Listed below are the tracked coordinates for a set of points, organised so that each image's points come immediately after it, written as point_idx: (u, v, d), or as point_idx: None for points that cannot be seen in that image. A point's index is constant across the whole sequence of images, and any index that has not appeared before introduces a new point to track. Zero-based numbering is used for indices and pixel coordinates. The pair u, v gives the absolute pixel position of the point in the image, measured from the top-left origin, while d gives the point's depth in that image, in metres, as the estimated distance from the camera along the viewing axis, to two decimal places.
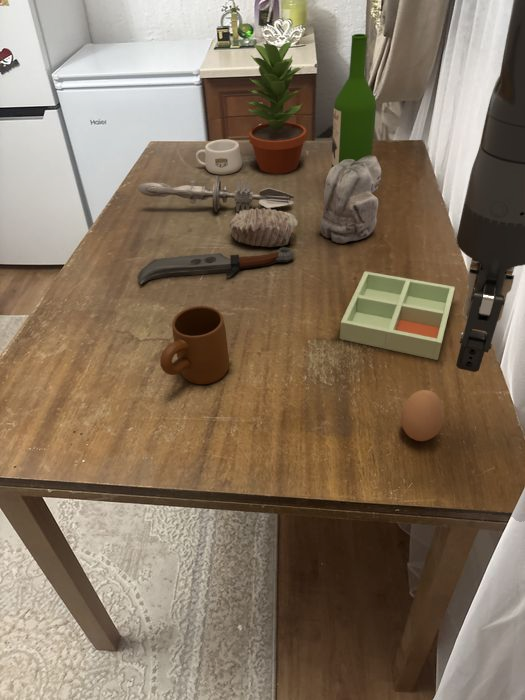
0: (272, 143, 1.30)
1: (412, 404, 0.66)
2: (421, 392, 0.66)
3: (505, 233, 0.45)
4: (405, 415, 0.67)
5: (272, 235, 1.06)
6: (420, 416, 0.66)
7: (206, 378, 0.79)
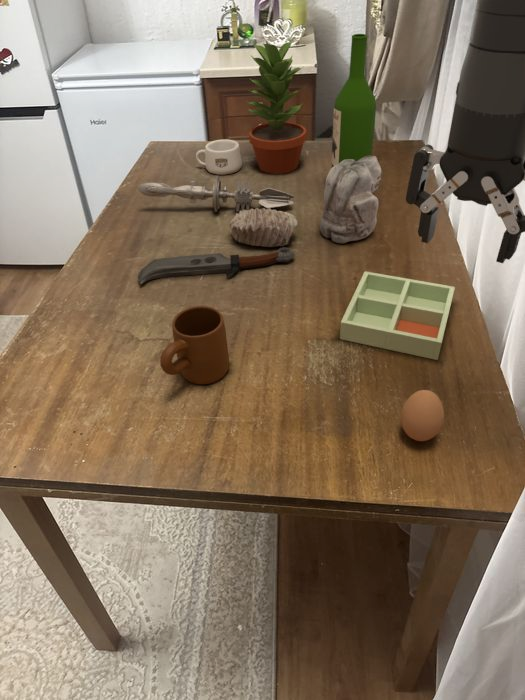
0: (272, 143, 1.30)
1: (412, 404, 0.66)
2: (421, 392, 0.66)
3: None
4: (405, 415, 0.67)
5: (272, 235, 1.06)
6: (420, 416, 0.66)
7: (206, 378, 0.79)
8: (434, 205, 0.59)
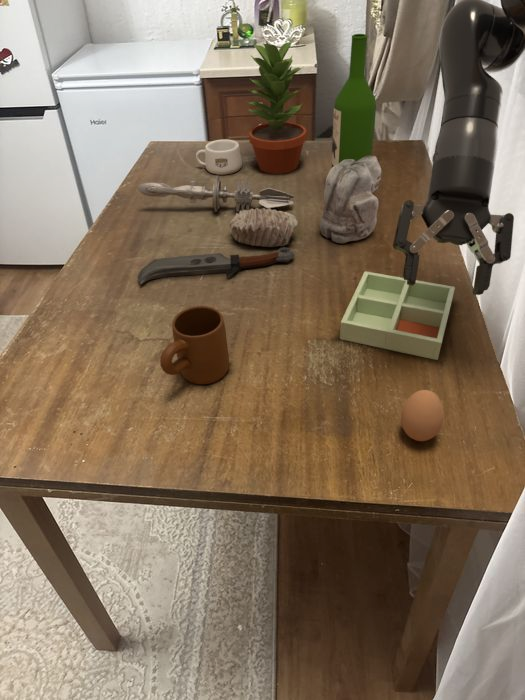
0: (272, 143, 1.30)
1: (412, 404, 0.66)
2: (421, 392, 0.66)
3: (432, 170, 0.69)
4: (405, 415, 0.67)
5: (272, 235, 1.06)
6: (420, 416, 0.66)
7: (206, 378, 0.79)
8: None
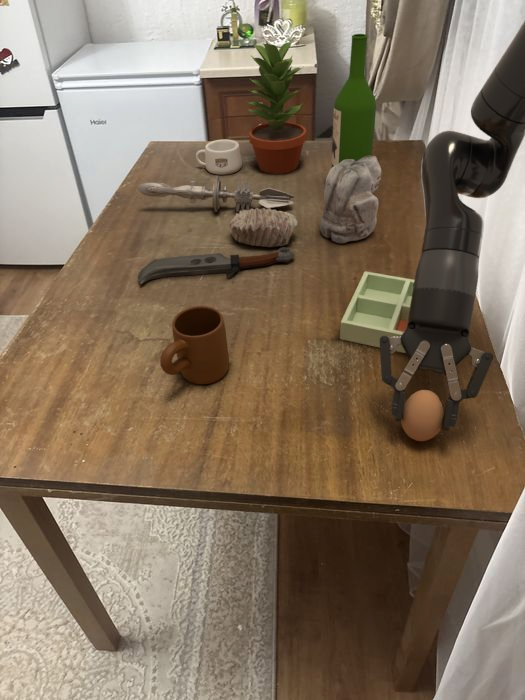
0: (272, 143, 1.30)
1: (412, 404, 0.66)
2: (421, 392, 0.66)
3: None
4: (405, 415, 0.67)
5: (272, 235, 1.06)
6: (420, 416, 0.66)
7: (206, 378, 0.79)
8: None
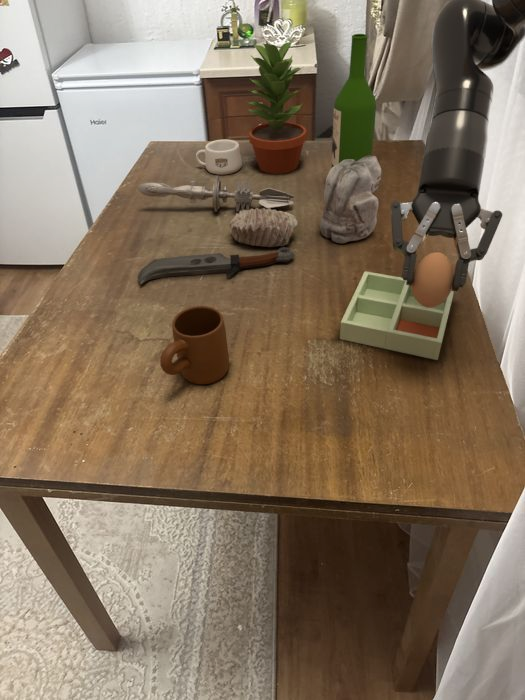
0: (272, 143, 1.30)
1: (423, 265, 0.68)
2: (431, 253, 0.68)
3: (422, 164, 0.70)
4: (415, 278, 0.69)
5: (272, 235, 1.06)
6: (430, 276, 0.67)
7: (206, 378, 0.79)
8: None
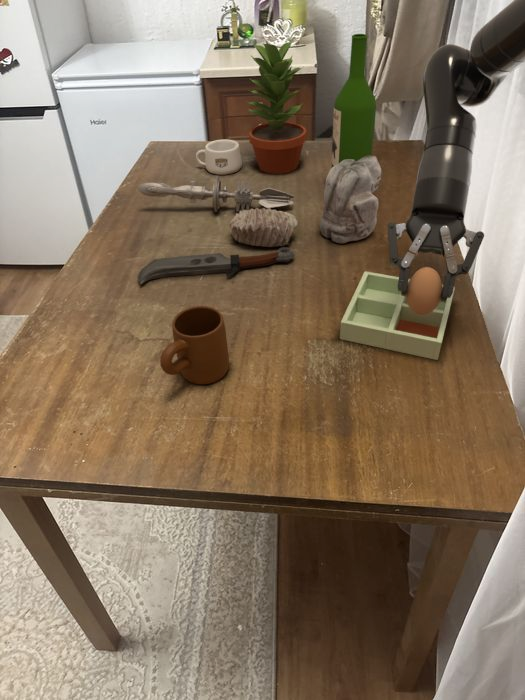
0: (272, 143, 1.30)
1: (415, 278, 0.78)
2: (423, 268, 0.78)
3: (415, 190, 0.80)
4: (409, 290, 0.79)
5: (272, 235, 1.06)
6: (422, 288, 0.77)
7: (206, 378, 0.79)
8: None
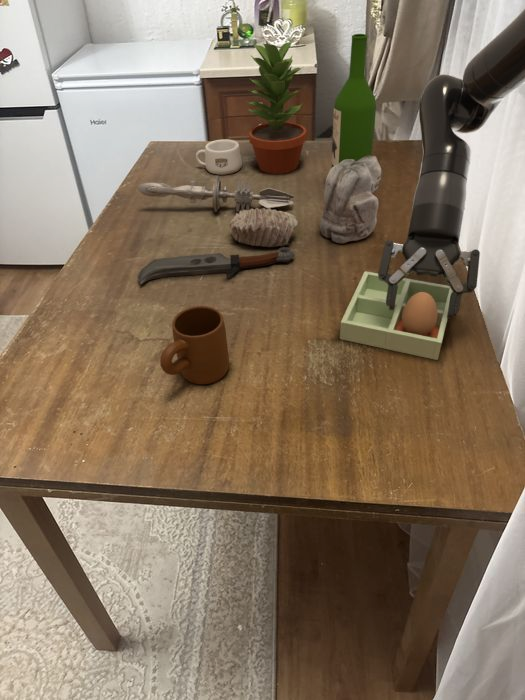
0: (272, 143, 1.30)
1: (412, 303, 0.81)
2: (419, 293, 0.81)
3: (411, 215, 0.82)
4: (405, 313, 0.82)
5: (272, 235, 1.06)
6: (418, 312, 0.80)
7: (206, 378, 0.79)
8: None
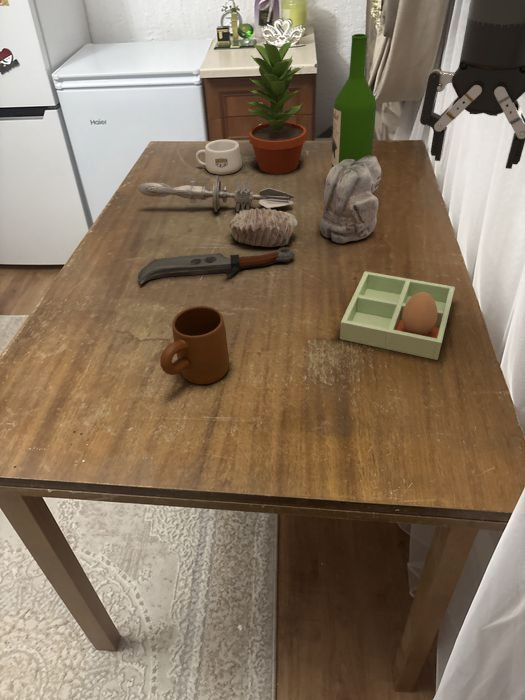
0: (272, 143, 1.30)
1: (412, 303, 0.81)
2: (419, 293, 0.81)
3: None
4: (405, 313, 0.82)
5: (272, 235, 1.06)
6: (418, 312, 0.80)
7: (206, 378, 0.79)
8: None
